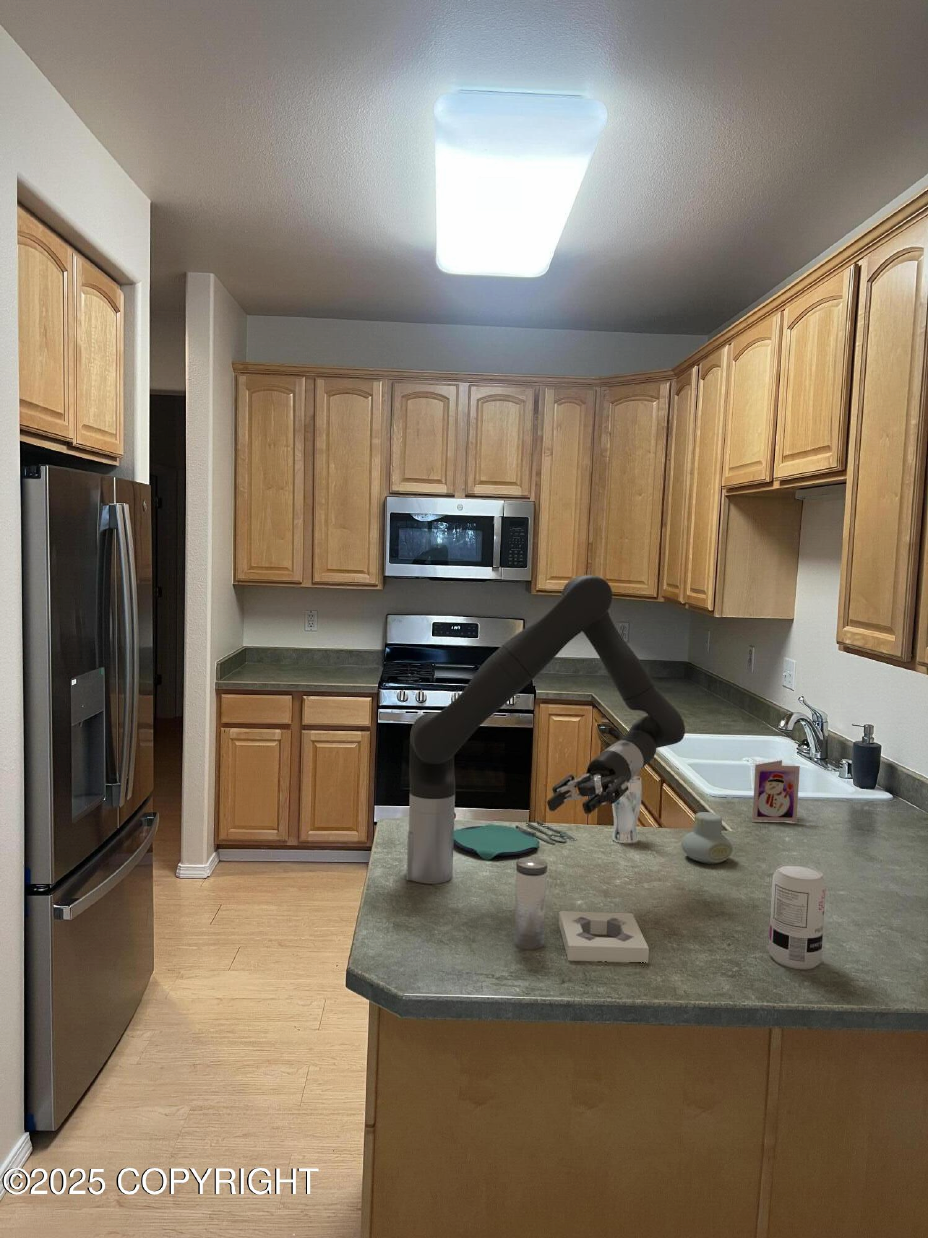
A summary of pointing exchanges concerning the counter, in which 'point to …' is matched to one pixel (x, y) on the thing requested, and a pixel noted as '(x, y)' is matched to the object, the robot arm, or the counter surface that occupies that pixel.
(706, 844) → the air freshener
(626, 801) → the beer glass
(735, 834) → the counter surface
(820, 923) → the supplement can
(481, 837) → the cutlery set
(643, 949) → the mount plate
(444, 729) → the robot arm
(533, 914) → the grey cylindrical piece
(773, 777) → the greeting card
